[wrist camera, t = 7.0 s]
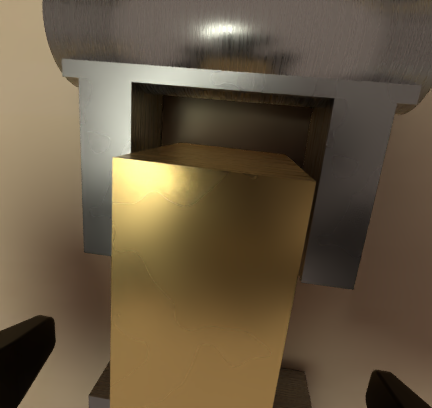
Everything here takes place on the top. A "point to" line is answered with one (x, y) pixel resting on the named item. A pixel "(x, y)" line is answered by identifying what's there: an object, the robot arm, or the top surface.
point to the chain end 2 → (283, 402)
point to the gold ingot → (203, 274)
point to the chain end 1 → (249, 93)
